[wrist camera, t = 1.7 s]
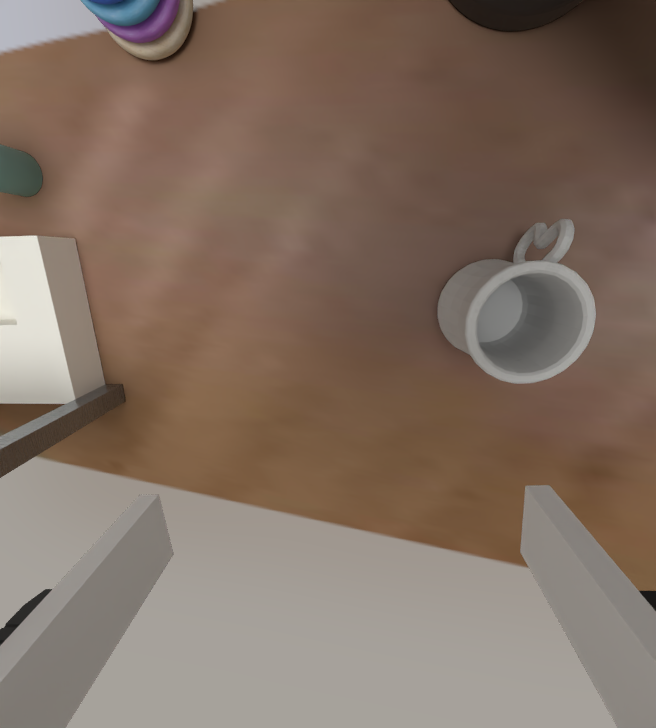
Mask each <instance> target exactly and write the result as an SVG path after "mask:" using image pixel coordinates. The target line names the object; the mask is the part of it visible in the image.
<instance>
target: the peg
mask: <svg viewBox="0 0 656 728" xmlns="http://www.w3.org/2000/svg"><path fill="white" fill-rule="evenodd" d="M41 186H42V172H41V169H40V167H39V165H38V163H37V162H36V160H35V159H34V158H33V157H32V156H31V155H29V154H28V153H25V152H23V151H19V150H16V149H13V148H10V147H7V146H4V145H1V144H0V192H4V193H9V194H14V195H19V196H25V197H29V196H33V195H35V194H36V193H37V192H38V191H39V190H40V188H41Z"/></svg>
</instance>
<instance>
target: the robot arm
mask: <svg viewBox="0 0 656 728" xmlns="http://www.w3.org/2000/svg"><path fill="white" fill-rule="evenodd" d="M450 1H451V3H452V4H453V5H454V6H455V7H456V8H457V9H458V10H459V11H460V12H461V13H463V14H464V15H465V16H467V17H468V18H469V19H471V20H473V21H474V22H476V23H478V24H481V25H483V26H486V27H489V28H492V29H497V30H504V31H519V30H526V29H531V28H535V27H538V26H541V25H544V24H547V23H549V22H551V21H553V20H555V19H557V18H559V17H561V16H563V15H564V14H566V13H567V12H569V11H570V10H571V9H573V8H574V7H576V6H577V5H578V4H579V3H580V2H582V1H583V0H450ZM520 552H521V554H522V556H523V558H524V560H525V561H526V563H527V565H528V567H529V569H530V570H531V572H532V574H533V576H534V577H535V579H536V581H537V583H538V585H539V587H540V588H541V590H542V592H543V594H544V596H545V597H546V599H547V601H548V603H549V605H550V606H551V608H552V610H553V612H554V614H555V616H556V617H557V619H558V621H559V623H560V624H561V626H562V628H563V630H564V632H565V634H566V635H567V637H568V639H569V640H570V643H571V645H572V646H573V648H574V650H575V652H576V653H577V655H578V657H579V659H580V661H581V663H582V664H583V666H584V668H585V670H586V672H587V673H588V675H589V677H590V679H591V680H592V682H593V684H594V686H595V688H596V690H597V691H598V693H599V695H600V697H601V699H602V701H603V702H604V704H605V706H606V708H607V710H608V711H609V713H610V715H611V717H612V718H613V720H614V722H615V724H616V726H617V728H656V591H638V590H637V589H636V587H635V586H634V585H633V584H632V583H631V581H630V580H629V579H628V578H627V577H626V575H625V574H624V573H623V572H622V571H621V570H620V568H619V567H618V566H617V565H616V564H615V562H614V561H613V560H612V559H611V558H610V557H609V555H608V554H607V553H606V552H605V551H604V549H603V548H602V547H601V546H600V545H599V543H598V542H597V541H596V540H595V539H594V538H593V536H592V535H591V534H590V533H589V532H588V530H587V529H586V528H585V527H584V526H583V525H582V523H581V522H580V521H579V520H578V519H577V517H576V516H575V515H574V514H573V513H572V512H571V510H570V509H569V508H568V507H567V506H566V504H565V503H564V502H563V501H562V500H561V498H560V497H559V496H558V495H557V494H556V493H555V491H554V490H553V489H552V488H551V487H550V485H540V486H525V499H524V512H523V525H522V537H521V550H520ZM172 556H173V550H172V546H171V542H170V537H169V534H168V529H167V526H166V521H165V517H164V513H163V509H162V505H161V501H160V497H159V494H155V495H154V494H151V495H139V496H138V497H137V498H136V499H135V500H134V501H133V502H132V504H131V505H130V506H129V507H128V508H127V509H126V510H125V511H124V512H123V513H122V514H121V515H120V517H119V518H118V519H117V520H116V521H115V522H114V523H113V524H112V525H111V526H110V528H109V529H108V530H107V531H106V532H105V533H104V534H103V535H102V536H101V537H100V538H99V540H98V541H97V542H96V543H95V544H94V545H93V546H92V547H91V548H90V549H89V550H88V551H87V553H86V554H85V555H84V556H83V557H82V558H81V559H80V560H79V561H78V562H77V563H76V564H75V565H74V566H73V568H72V569H71V570H70V571H69V572H68V573H67V574H66V575H65V576H64V577H63V578H62V580H61V581H60V582H59V583H58V584H57V585H56V586H55V587H54V588H53V589H46V590H44V591H43V592H41V593H40V594H38V595H37V596H36V597H34V598H33V599H32V600H30V601H29V602H28V603H26V604H25V605H24V606H23V607H22V608H21V609H20V610H19V611H18V612H17V613H16V614H15V615H14V616H13V617H12V618H11V619H10V620H9V621H8V622H7V623H6V626H5V627H4V628H2V629H0V728H66V726H67V724H68V723H69V721H70V720H71V718H72V716H73V715H74V713H75V712H76V710H77V709H78V707H79V705H80V704H81V702H82V701H83V699H84V697H85V696H86V694H87V692H88V691H89V689H90V688H91V686H92V684H93V683H94V681H95V680H96V678H97V676H98V675H99V673H100V671H101V670H102V668H103V667H104V665H105V664H106V662H107V660H108V659H109V657H110V655H111V654H112V652H113V651H114V649H115V647H116V646H117V644H118V643H119V641H120V639H121V638H122V636H123V635H124V633H125V631H126V630H127V628H128V626H129V625H130V623H131V622H132V620H133V619H134V617H135V615H136V614H137V612H138V611H139V609H140V607H141V606H142V604H143V602H144V601H145V599H146V598H147V596H148V594H149V593H150V591H151V590H152V588H153V586H154V585H155V583H156V581H157V580H158V578H159V577H160V575H161V573H162V572H163V570H164V569H165V567H166V566H167V564H168V562H169V561H170V559H171V557H172Z"/></svg>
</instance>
